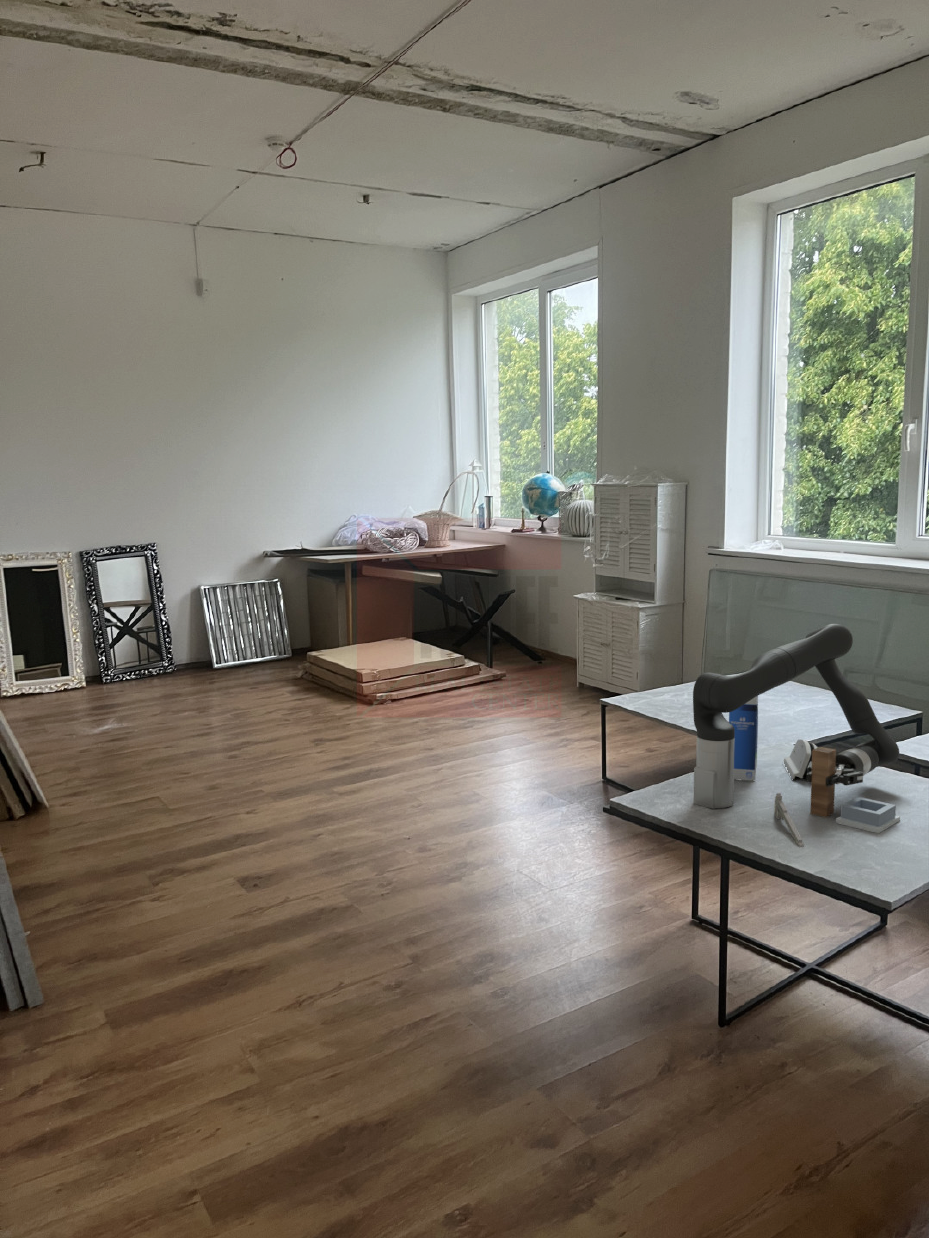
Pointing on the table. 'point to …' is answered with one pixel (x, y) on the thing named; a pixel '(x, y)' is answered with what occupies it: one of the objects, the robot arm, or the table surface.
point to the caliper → (786, 818)
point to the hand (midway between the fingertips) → (818, 780)
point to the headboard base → (868, 814)
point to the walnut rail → (822, 781)
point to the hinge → (799, 759)
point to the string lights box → (745, 739)
